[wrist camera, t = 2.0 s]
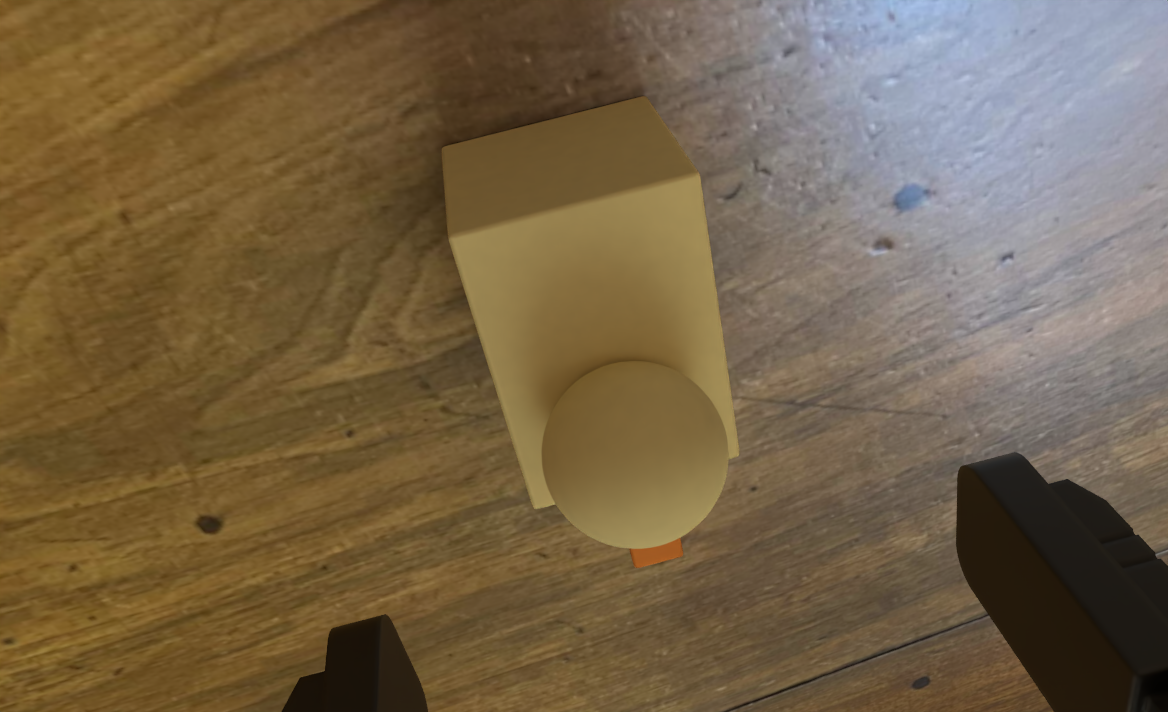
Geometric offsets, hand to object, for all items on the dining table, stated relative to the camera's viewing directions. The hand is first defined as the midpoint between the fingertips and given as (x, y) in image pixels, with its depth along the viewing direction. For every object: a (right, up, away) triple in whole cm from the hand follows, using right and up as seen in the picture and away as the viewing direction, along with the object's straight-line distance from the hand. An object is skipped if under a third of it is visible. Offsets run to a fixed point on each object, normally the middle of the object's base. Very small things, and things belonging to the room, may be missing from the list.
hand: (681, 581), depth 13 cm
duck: (-2, +5, +8) cm, 10 cm away
